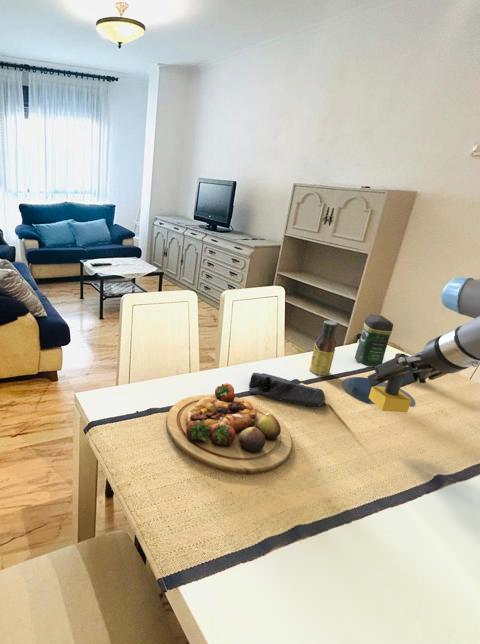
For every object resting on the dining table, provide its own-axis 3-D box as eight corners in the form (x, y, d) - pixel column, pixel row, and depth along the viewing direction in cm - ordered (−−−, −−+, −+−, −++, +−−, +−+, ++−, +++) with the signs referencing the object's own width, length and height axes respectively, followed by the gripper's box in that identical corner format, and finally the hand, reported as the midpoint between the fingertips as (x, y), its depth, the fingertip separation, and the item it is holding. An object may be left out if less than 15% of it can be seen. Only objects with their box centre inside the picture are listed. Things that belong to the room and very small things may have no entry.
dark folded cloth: (322, 415, 110) (325, 401, 109) (244, 393, 120) (246, 380, 119) (325, 392, 123) (328, 379, 121) (254, 374, 133) (256, 361, 131)
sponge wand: (392, 399, 98) (407, 351, 94) (407, 412, 93) (424, 361, 88) (368, 397, 99) (382, 349, 94) (382, 410, 93) (397, 360, 88)
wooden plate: (185, 390, 121) (188, 366, 118) (294, 419, 108) (300, 393, 106) (147, 449, 94) (149, 420, 91) (286, 496, 81) (294, 465, 78)
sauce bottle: (312, 369, 138) (324, 317, 131) (330, 375, 134) (344, 322, 127) (305, 374, 134) (317, 321, 127) (324, 381, 130) (337, 326, 123)
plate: (389, 382, 131) (390, 378, 131) (430, 415, 112) (431, 412, 112) (329, 378, 132) (330, 375, 132) (359, 411, 113) (360, 407, 113)
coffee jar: (383, 370, 139) (398, 322, 133) (359, 367, 141) (373, 320, 134) (374, 359, 148) (387, 314, 141) (351, 356, 150) (363, 311, 143)
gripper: (413, 366, 75) (348, 394, 96) (511, 370, 75) (425, 398, 96) (403, 330, 78) (343, 366, 99) (497, 335, 78) (417, 369, 99)
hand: (383, 382), depth 98 cm, fingers closed on sponge wand, 6 cm apart
